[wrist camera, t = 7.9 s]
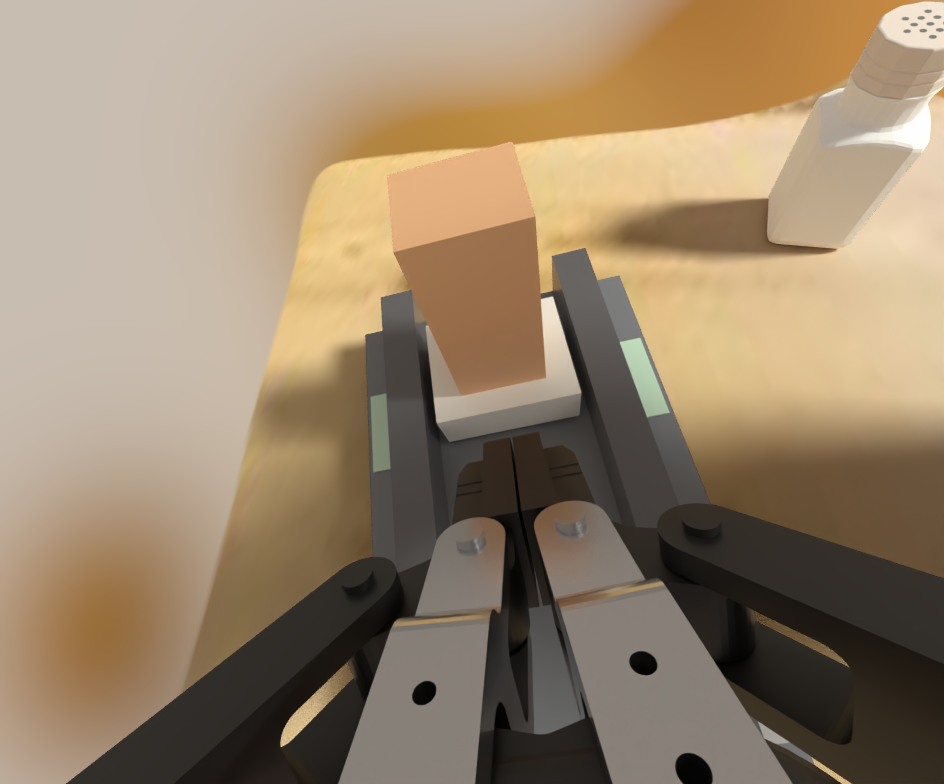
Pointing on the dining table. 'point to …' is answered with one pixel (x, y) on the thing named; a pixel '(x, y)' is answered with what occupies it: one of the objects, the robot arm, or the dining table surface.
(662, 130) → the dining table surface
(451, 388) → the switch lever
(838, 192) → the salt shaker
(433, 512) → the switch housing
